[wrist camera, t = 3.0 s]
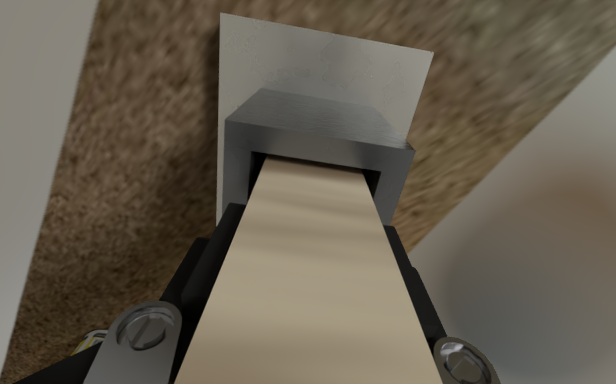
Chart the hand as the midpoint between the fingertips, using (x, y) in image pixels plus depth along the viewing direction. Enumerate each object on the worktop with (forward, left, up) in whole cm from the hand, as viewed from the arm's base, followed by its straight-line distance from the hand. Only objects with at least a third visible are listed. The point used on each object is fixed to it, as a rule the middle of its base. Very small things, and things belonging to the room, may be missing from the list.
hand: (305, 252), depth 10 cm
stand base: (0, 0, -12) cm, 12 cm away
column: (0, 0, -10) cm, 10 cm away
